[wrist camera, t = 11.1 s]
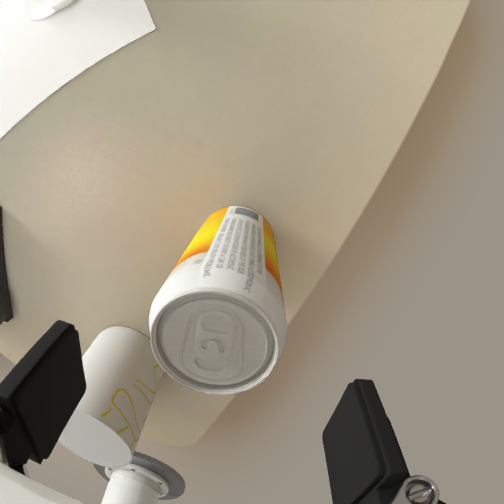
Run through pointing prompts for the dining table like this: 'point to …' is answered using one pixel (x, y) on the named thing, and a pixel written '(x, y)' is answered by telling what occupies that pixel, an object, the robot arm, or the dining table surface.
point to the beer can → (222, 307)
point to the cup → (113, 397)
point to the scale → (3, 283)
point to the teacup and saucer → (56, 6)
